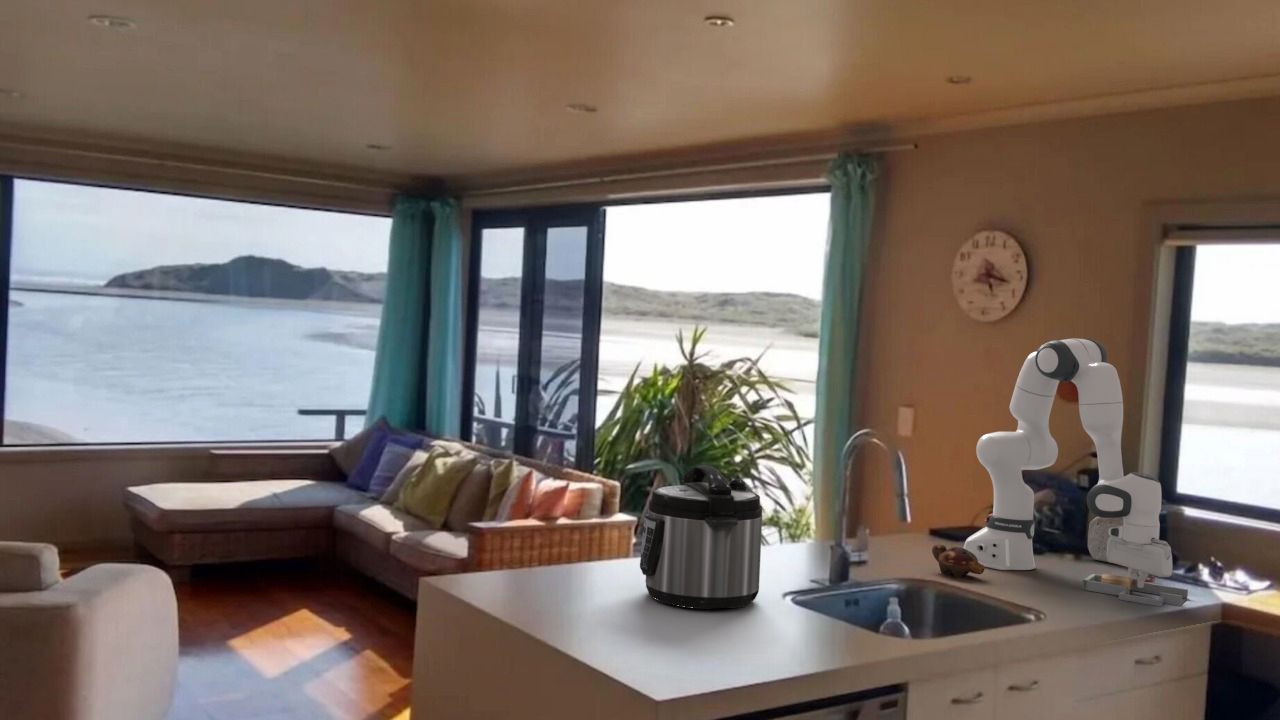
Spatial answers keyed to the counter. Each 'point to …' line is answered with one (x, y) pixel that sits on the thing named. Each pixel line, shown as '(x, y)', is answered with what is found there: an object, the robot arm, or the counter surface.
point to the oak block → (1117, 581)
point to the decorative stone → (1101, 536)
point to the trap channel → (1166, 592)
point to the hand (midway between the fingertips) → (1137, 586)
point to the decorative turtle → (956, 560)
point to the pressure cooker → (703, 542)
